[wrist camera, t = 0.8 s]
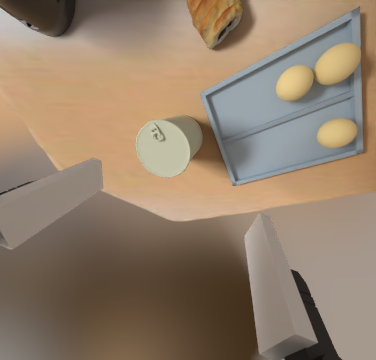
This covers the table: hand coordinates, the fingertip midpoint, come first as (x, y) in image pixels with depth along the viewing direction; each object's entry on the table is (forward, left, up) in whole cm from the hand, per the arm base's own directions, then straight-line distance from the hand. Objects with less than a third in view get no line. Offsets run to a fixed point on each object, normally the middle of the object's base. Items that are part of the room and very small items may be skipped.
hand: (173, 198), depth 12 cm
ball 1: (-4, +16, -22) cm, 27 cm away
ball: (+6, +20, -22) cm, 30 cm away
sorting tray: (+1, +13, -23) cm, 26 cm away
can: (-3, -5, -23) cm, 24 cm away
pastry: (-18, +8, -23) cm, 31 cm away
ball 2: (-4, +21, -22) cm, 31 cm away
